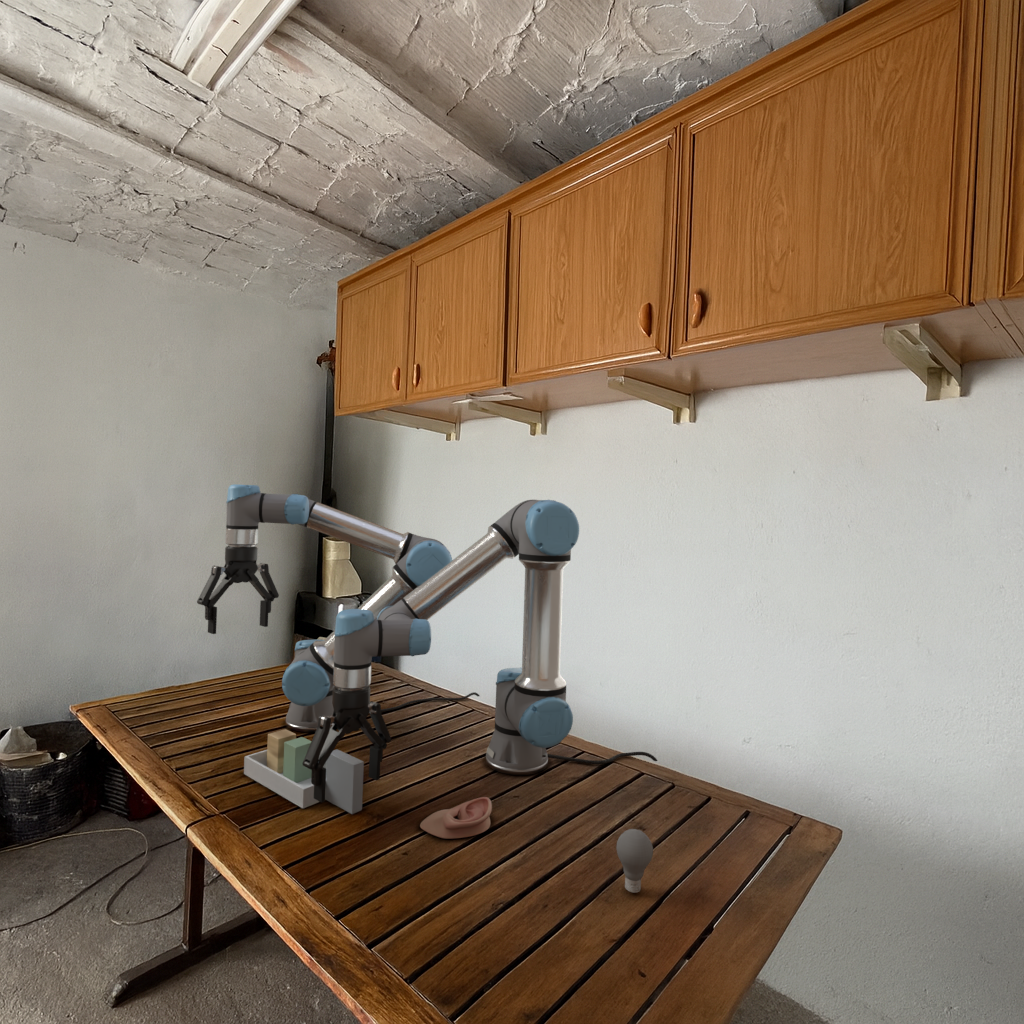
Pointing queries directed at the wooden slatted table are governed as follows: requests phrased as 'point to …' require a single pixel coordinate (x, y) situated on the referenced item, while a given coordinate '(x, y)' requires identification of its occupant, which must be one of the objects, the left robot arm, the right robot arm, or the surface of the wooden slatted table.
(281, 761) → the birch block
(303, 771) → the sage block
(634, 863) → the light bulb
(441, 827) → the anatomical model
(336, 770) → the tray
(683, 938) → the wooden slatted table surface
